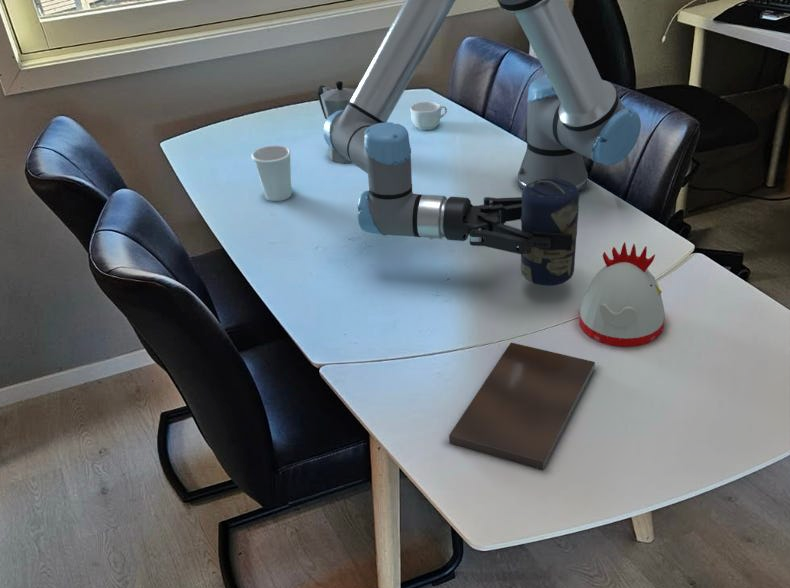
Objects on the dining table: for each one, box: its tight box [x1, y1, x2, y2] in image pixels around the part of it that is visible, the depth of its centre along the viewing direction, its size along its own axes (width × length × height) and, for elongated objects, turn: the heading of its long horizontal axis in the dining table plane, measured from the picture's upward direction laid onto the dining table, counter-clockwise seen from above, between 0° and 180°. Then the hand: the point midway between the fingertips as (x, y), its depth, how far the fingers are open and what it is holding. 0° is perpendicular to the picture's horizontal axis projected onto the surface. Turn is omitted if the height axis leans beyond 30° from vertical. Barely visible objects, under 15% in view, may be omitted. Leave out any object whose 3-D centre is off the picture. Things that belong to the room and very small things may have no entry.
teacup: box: [409, 100, 448, 131], centre depth 213 cm, size 10×8×5 cm
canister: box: [520, 179, 580, 287], centre depth 143 cm, size 10×10×18 cm
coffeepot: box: [316, 80, 357, 164], centre depth 197 cm, size 15×9×18 cm, turn 44°
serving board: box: [448, 342, 596, 471], centre depth 124 cm, size 24×14×2 cm, turn 155°
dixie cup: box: [251, 144, 292, 202], centre depth 182 cm, size 8×8×10 cm
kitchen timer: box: [578, 241, 665, 348], centre depth 136 cm, size 14×14×15 cm
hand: (575, 227), depth 142 cm, fingers closed on canister, 9 cm apart
